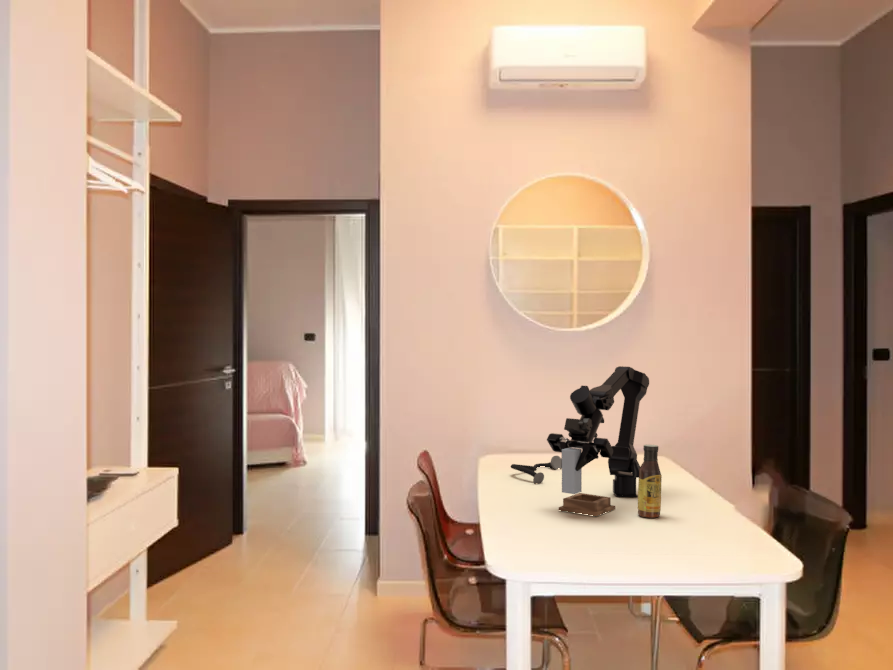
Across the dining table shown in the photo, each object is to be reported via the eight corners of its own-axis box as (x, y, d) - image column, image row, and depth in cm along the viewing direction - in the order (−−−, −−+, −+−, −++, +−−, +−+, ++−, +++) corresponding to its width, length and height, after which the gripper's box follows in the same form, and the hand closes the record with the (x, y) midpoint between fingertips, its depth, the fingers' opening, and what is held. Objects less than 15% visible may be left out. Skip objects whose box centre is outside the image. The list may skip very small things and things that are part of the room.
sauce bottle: (648, 519, 213) (648, 447, 213) (632, 515, 219) (633, 444, 219) (666, 517, 216) (666, 446, 216) (650, 512, 222) (650, 443, 222)
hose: (541, 485, 261) (541, 469, 261) (501, 482, 266) (501, 466, 266) (563, 469, 292) (563, 454, 292) (526, 467, 297) (526, 452, 297)
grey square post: (568, 489, 220) (568, 447, 220) (581, 491, 218) (581, 449, 218) (561, 492, 217) (561, 449, 217) (574, 494, 215) (574, 450, 215)
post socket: (578, 503, 233) (578, 491, 233) (615, 509, 226) (615, 497, 226) (558, 510, 224) (558, 498, 224) (596, 517, 216) (596, 504, 216)
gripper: (549, 405, 226) (529, 448, 218) (608, 409, 215) (589, 455, 206) (563, 429, 232) (544, 471, 224) (621, 435, 221) (603, 479, 212)
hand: (569, 469), depth 216 cm, fingers closed on grey square post, 4 cm apart
